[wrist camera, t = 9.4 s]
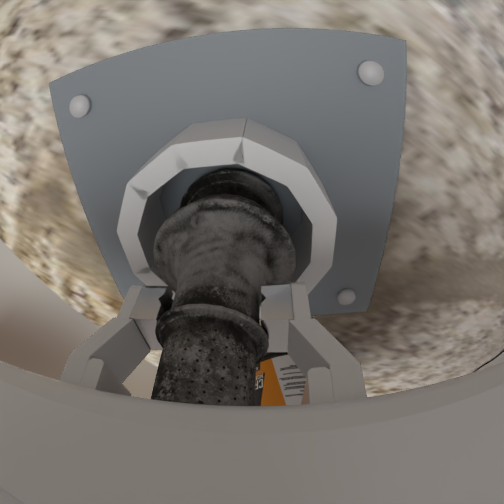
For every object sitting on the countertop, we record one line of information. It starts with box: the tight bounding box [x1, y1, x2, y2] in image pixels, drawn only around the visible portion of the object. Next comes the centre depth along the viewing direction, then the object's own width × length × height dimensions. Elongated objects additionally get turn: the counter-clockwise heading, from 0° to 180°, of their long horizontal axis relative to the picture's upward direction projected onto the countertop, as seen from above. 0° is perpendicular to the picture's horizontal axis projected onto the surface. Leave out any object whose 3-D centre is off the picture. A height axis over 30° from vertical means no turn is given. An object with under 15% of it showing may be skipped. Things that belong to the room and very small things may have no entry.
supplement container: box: [255, 352, 306, 406], centre depth 22 cm, size 10×10×12 cm
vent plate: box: [49, 28, 407, 319], centre depth 14 cm, size 18×18×4 cm
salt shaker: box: [151, 170, 296, 406], centre depth 10 cm, size 6×6×12 cm
